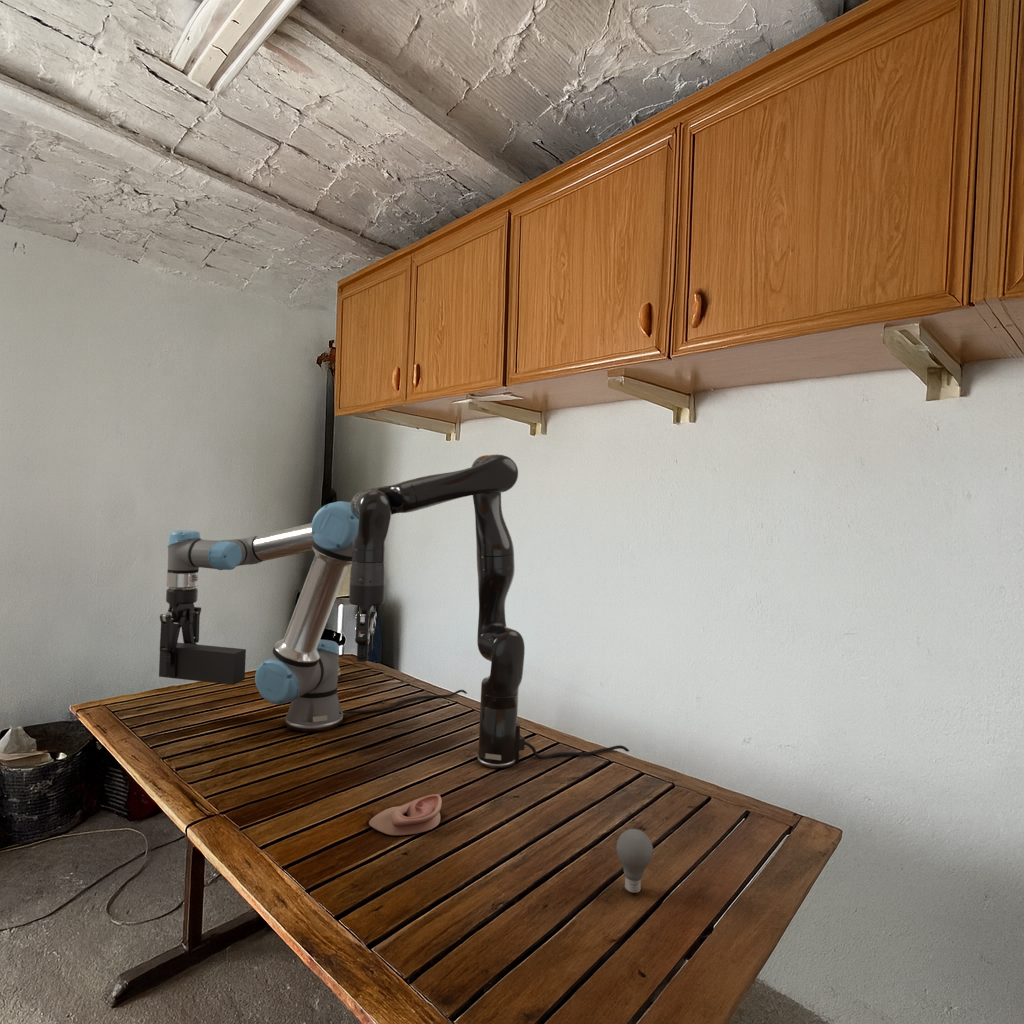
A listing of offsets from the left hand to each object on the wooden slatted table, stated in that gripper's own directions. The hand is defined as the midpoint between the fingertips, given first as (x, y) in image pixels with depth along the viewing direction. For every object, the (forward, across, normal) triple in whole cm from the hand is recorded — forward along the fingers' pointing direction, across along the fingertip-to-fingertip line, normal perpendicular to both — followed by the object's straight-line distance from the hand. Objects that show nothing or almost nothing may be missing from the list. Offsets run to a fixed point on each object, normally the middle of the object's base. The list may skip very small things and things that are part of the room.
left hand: (178, 673), depth 171 cm
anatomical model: (+13, -34, -77) cm, 85 cm away
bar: (+1, 0, -7) cm, 7 cm away
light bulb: (+12, -46, -121) cm, 130 cm away
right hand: (-16, -23, -62) cm, 69 cm away
